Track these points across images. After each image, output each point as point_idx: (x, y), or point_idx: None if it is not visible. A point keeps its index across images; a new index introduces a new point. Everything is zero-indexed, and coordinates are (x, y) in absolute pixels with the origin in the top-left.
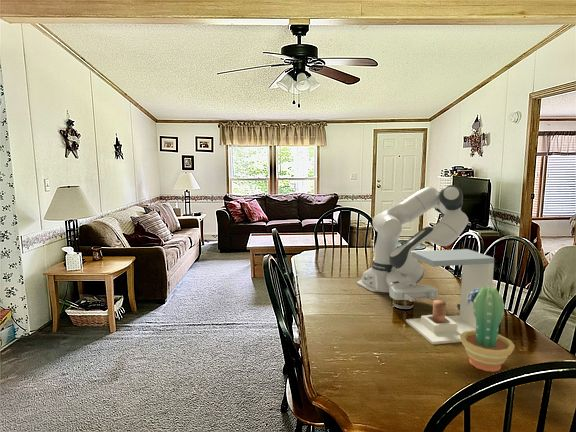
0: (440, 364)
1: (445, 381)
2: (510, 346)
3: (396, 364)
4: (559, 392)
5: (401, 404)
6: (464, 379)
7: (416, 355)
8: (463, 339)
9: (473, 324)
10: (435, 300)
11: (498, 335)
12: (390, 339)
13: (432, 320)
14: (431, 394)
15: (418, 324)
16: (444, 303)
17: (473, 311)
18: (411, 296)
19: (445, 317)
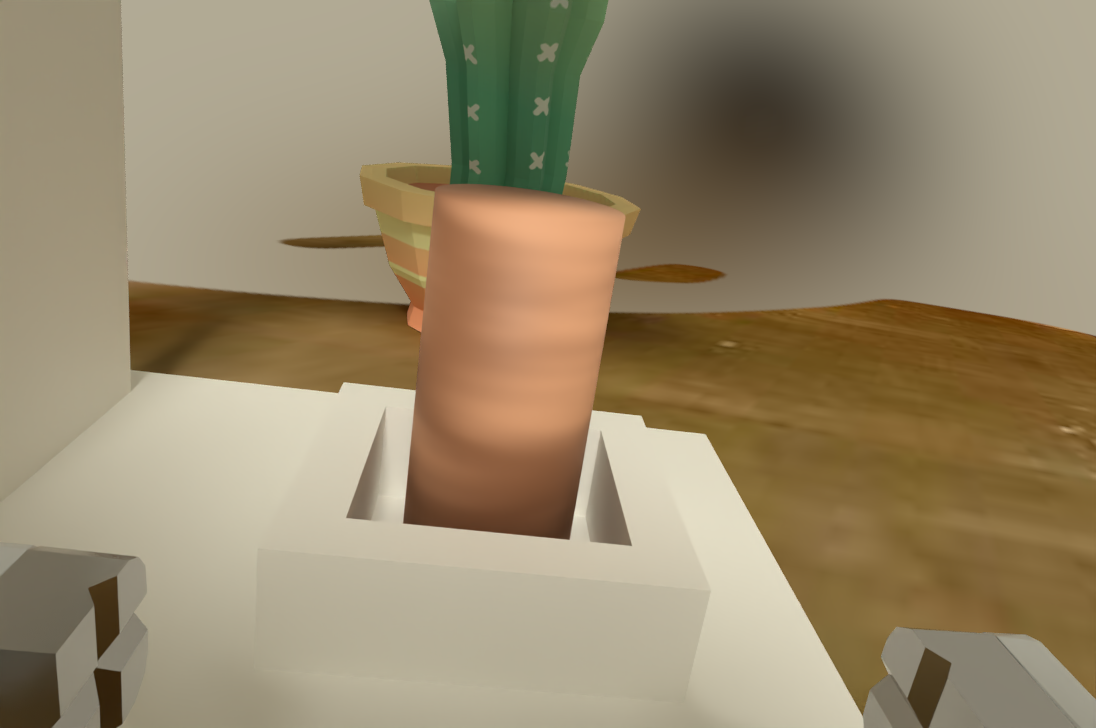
0: (731, 367)
1: (752, 329)
2: (428, 164)
3: (983, 410)
4: (357, 244)
5: (942, 327)
6: (663, 317)
7: (857, 423)
8: (627, 208)
9: (35, 434)
10: (557, 218)
11: (380, 175)
12: (1092, 573)
13: (570, 514)
14: (830, 321)
15: (743, 668)
16: (485, 187)
17: (13, 266)
18: (1011, 700)
19: (344, 475)
